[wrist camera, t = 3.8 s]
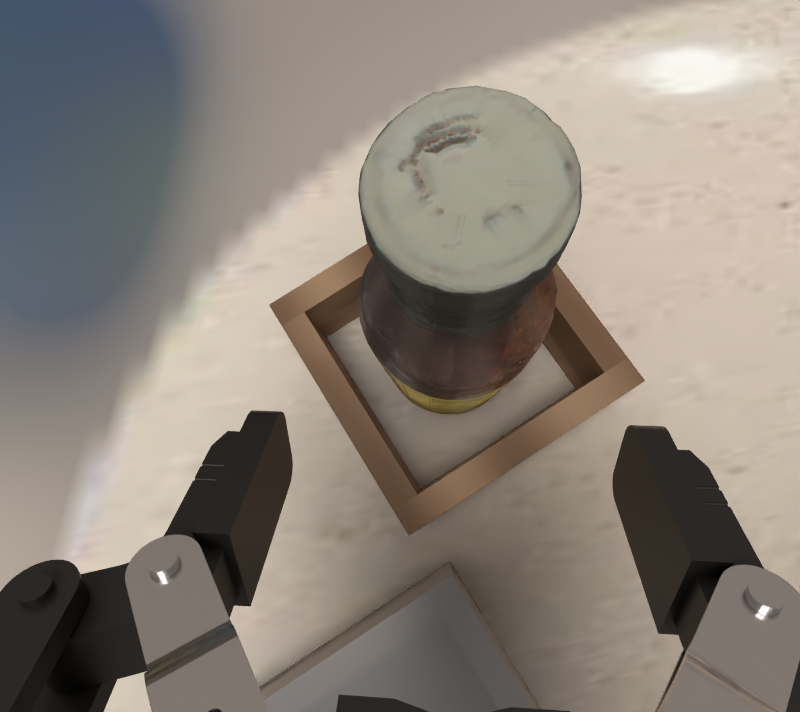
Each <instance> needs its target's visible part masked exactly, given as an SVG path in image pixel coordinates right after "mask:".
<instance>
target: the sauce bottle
mask: <svg viewBox="0 0 800 712" xmlns="http://www.w3.org/2000/svg"><path fill="white" fill-rule="evenodd" d="M581 197H582V196H581V170H580V164H579V161H578V158H577V156H576V153H575V150H574V148H573V146H572V144H571V142H570V141H569V139H568V137H567V136H566V134H565V133H564V131H563V130H562V128H561V127H560V126H558V125H557V124H555V123H554V122H553V121H552V120H551V119H550V118H549V117H548V116H547V114H546V113H545V112H544V111H542V110H541V109H539V108H538V107H537V106H535V105H534V104H533V103H531V102H530V101H528V100H527V99H526V98H523V97H521V96H518V95H515V94H512V93H510V92H507V91H502V90H496V89H491V88H486V87H480V86H470V87H461V88H451V89H446V90H444V91H442V92H434V93H432V94H430V95H428V96H426V97H424V98H422V99H421V100H419V101H418V102H416V103H415V104H413V105H411V106H409V107H407V108H406V109H405V110H404V111H402V112H401V113H400V114H399V115H398V116H397V117H395V118H394V119H393V120H392V121H391V122H389V123H388V124H387V126H386V127H385V128H384V129H383V131H382V132H381V133H380V134H379V135H378V137H377V138H376V140H375V141H374V143H373V144H372V146H371V148H370V151H369V153H368V155H367V158H366V160H365V162H364V164H363V167H362V169H361V173H360V181H359V202H360V209H361V215H362V221H363V225H364V230H365V235H366V240H367V244H368V246H369V248H370V250H371V252H372V254H373V255H372V256H371V258H370V260H369V262H368V263H367V265H366V267H365V270H364V273H363V276H362V279H361V282H360V286H359V294H358V309H359V317H360V322H361V325H362V329H363V332H364V335H365V337H366V340H367V342H368V344H369V346H370V348H371V349H372V351H373V353H374V354H375V356H376V357H377V359H378V360H379V362H380V363H381V365H382V366H383V368H384V369H385V371H386V372H387V373H388V375H389V376H390V377H391V378H392V380H393V381H394V383H395V384H396V385H397V387H398V388H399V389H400V391H401V392H402V393H403V394H404V395H405V396H406V397H407V398H408V399H409V400H410V401H411V402H413V403H414V404H416V405H418V406H419V407H422V408H424V409H426V410H429V411H433V412H437V413H443V414H458V413H465V412H467V411H470V410H472V409H475V408H477V407H479V406H480V405H482V404H484V403H485V402H486V401H488V400H489V399H490V398H491V397H493V396H494V395H495V394H496V393H497V392H498V391H500V390H501V389H502V388H503V387H504V386H505V385H507V384H508V383H509V382H510V381H512V380H513V379H514V378H515V377H516V376H517V375H518V374H519V373H520V372H521V371H522V370H523V369H524V368H525V366H526V365H527V364H528V362H529V361H530V359H531V358H532V357H533V355H534V354H535V353H536V351H537V350H538V348H539V347H540V345H541V343H542V342H543V340H544V338H545V336H546V334H547V332H548V330H549V328H550V325H551V322H552V320H553V315H554V309H555V305H556V296H557V291H558V290H557V286H556V280H555V276H554V273H553V270H552V269H553V268H554V267H555V265H556V264H557V262H558V260H559V259H560V257H561V254H562V253H563V251H564V250H565V248H566V246H567V244H568V241H569V239H570V237H571V235H572V233H573V231H574V229H575V226H576V223H577V220H578V217H579V214H580V207H581Z"/></svg>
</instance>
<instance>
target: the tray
mask: <svg viewBox="0 0 800 712" xmlns="http://www.w3.org/2000/svg"><path fill="white" fill-rule="evenodd" d="M259 689H260V691H261V694H262V696H263V699H264V701H265V704H266V706H267V708H268V711H269V712H336V708H337V702H338V696H339V695H353V696H367V697H380V698H394V699H397V700H399V701H402V702H405V703H408V704H410V705H413V706H416V707H418V708H421V709H424V710H426V711H429V712H492V711H496V710H501V709H505V708H510V707H517V708H531V709H540V708H539V706H538V705H537V703H536V701H535V700H534V698H533V697H532V695H531V693H530V692H529V690H528V688H527V687H526V685H525V684H524V682H523V680H522V679H521V677H520V675H519V674H518V672H517V671H516V669H515V667H514V666H513V664H512V662H511V661H510V659H509V658H508V656H507V654H506V653H505V651H504V649H503V648H502V646H501V645H500V643H499V641H498V640H497V638H496V636H495V635H494V633H493V632H492V630H491V628H490V627H489V625H488V623H487V622H486V620H485V619H484V617H483V615H482V614H481V612H480V610H479V609H478V607H477V606H476V604H475V602H474V601H473V599H472V597H471V596H470V594H469V593H468V591H467V589H466V588H465V586H464V584H463V583H462V581H461V580H460V578H459V576H458V575H457V573H456V571H455V570H454V568H453V567H452V565H451V563H450V562H448V563H447V564H445V565H444V566H442V567H441V568H439V569H438V570H436V571H435V572H433V573H432V574H430V575H429V576H427V577H426V578H424V579H423V580H421V581H420V582H418V583H417V584H415V585H414V586H412V587H411V588H409V589H408V590H406V591H404V592H403V593H401V594H400V595H398V596H397V597H395V598H394V599H392V600H391V601H389V602H388V603H386V604H385V605H383V606H382V607H380V608H379V609H377V610H376V611H374V612H373V613H371V614H370V615H368V616H367V617H365V618H364V619H362V620H361V621H359V622H358V623H356V624H355V625H353V626H352V627H350V628H349V629H347V630H346V631H344V632H343V633H341V634H340V635H338V636H337V637H335V638H333V639H332V640H330V641H329V642H327V643H326V644H324V645H323V646H321V647H320V648H318V649H317V650H315V651H314V652H312V653H311V654H309V655H308V656H306V657H305V658H303V659H302V660H300V661H299V662H297V663H296V664H294V665H293V666H291V667H290V668H288V669H287V670H285V671H284V672H282V673H281V674H279V675H278V676H276V677H275V678H273V679H272V680H270V681H269V682H267V683H265V684H264V685H262V686H261V687H259Z"/></svg>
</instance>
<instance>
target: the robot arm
mask: <svg viewBox="0 0 800 712" xmlns="http://www.w3.org/2000/svg"><path fill="white" fill-rule="evenodd" d="M202 464H203V465H202V467H200V469H199V471H198V472H197V474H196V476H195V481H193V482H192V484H191V486H190V488H189V490H188V491H187V493H186V495H185V497H184V499H183V501H182V503H181V505H180V507H179V509H178V511H177V512H176V514H175V516H174V518H173V520H172V522H171V524H170V526H169V528H168V530H167V532H166V533H165V535H164V536H163V537H161V538H158V539H156V540H154V541H152V542H150V543H148V544H147V545H145V546H144V547H143V548H141V549H140V550H139V551H138V552H137V553H136V554H135V555H134V557H133V558H132V559H131V561H130V562H129V563H127V564H123V565H120V566H116V567H111V568H107V569H102V570H98V571H94V572H89V573H85V574H80V573H79V571H78V569H77V567H76V566H75V565H74V564H72V563H71V562H69V561H65V560H50V561H45V562H42V563H39V564H36V565H34V566H31V567H29V568H28V569H26V570H24V571H22V572H21V573H20V574H18V575H17V576H15V577H14V578H13V579H12V580H11V581H10V582H9V583H8V584H7V585H6V586H5V587H4V588H3V589H2V591H1V592H0V712H103V711H104V709H105V707H106V704H107V702H108V700H109V697H110V695H111V693H112V690H113V688H114V686H115V683H116V681H117V679H119V678H123V677H127V676H130V675H134V674H138V673H141V672H145V671H147V672H146V673H145V675H144V677H145V684H146V689H147V694H148V698H149V702H150V706H151V710H152V712H269V711H268V708H267V706H266V704H265V701H264V699H263V696H262V694H261V691H260V689H259V686H258V684H257V681H256V679H255V677H254V674H253V672H252V669H251V667H250V664H249V662H248V659H247V657H246V654H245V652H244V650H243V647H242V645H241V642H240V640H239V637H238V635H237V633H236V630H235V628H234V626H233V625H232V623H231V621H230V619H229V618H230V615H231V612H232V609H233V607H234V605H237V606H251V603H252V600H253V597H254V594H255V591H256V588H257V584H258V581H259V578H260V575H261V572H262V569H263V566H264V563H265V560H266V557H267V554H268V550H269V547H270V544H271V541H272V538H273V535H274V532H275V529H276V526H277V523H278V520H279V516H280V513H281V510H282V507H283V504H284V501H285V498H286V495H287V492H288V489H289V486H290V482H291V477H292V466H293V464H292V454H291V448H290V442H289V436H288V431H287V425H286V419H285V415H284V413H283V412H277V411H251V412H250V413H249V414H248V416H247V418H246V420H245V422H244V424H243V426H242V428H241V430H240V432H237V431H227V432H226V433H225V434H224V435H223V436H222V437H221V438H220V439H219V440H217V441H216V442H215V443H214V444H213V445H212V446H211V448H210V450H209V451H208V453H207V455H206V457H205V459H204V461H203V463H202ZM613 494H614V499H615V502H616V505H617V509H618V512H619V515H620V518H621V521H622V524H623V527H624V530H625V533H626V536H627V539H628V542H629V545H630V548H631V551H632V554H633V557H634V560H635V563H636V566H637V570H638V573H639V576H640V579H641V582H642V585H643V588H644V591H645V594H646V597H647V600H648V603H649V606H650V609H651V612H652V615H653V618H654V621H655V624H656V627H657V630H658V634H674V635H679V637H680V640H681V643H682V646H683V651H682V653H681V655H680V657H679V659H678V661H677V663H676V666H675V668H674V670H673V672H672V675H671V677H670V679H669V681H668V683H667V686H666V688H665V690H664V692H663V695H662V697H661V699H660V701H659V703H658V706H657V708H656V710H655V712H800V594H799V593H798V592H797V591H796V590H795V589H794V587H792V586H791V585H790V584H789V583H788V582H787V581H785V580H784V579H782V578H781V577H779V576H778V575H776V574H774V573H772V572H770V571H768V570H766V569H764V568H763V566H762V564H761V562H760V561H759V559H758V557H757V555H756V553H755V552H754V550H753V548H752V546H751V544H750V542H749V541H748V539H747V537H746V535H745V533H744V531H743V530H742V528H741V526H740V524H739V522H738V521H737V519H736V517H735V515H734V513H733V511H732V510H731V508H730V507H728V505H727V504H728V502H727V500H726V499H725V497H724V495H723V493H722V491H719V486H718V484H717V482H716V480H715V479H714V477H713V475H712V473H711V471H710V469H709V468H708V467H707V466H706V465H705V464H704V463H703V462H702V461H701V460H700V459H699V458H697V457H696V456H695V455H694V454H693V453H692V452H691V451H690V450H678V449H677V448H676V446H675V444H674V442H673V440H672V438H671V436H670V434H669V432H668V430H667V429H666V428H665V427H663V426H636V425H630V426H628V427H627V429H626V431H625V434H624V438H623V441H622V445H621V448H620V452H619V455H618V459H617V462H616V466H615V469H614V473H613ZM336 712H429V711H426V710H424V709H421V708H418V707H416V706H413V705H410V704H408V703H405V702H402V701H399V700H397V699H394V698H380V697H367V696H353V695H339V696H338V702H337V708H336ZM492 712H569V711H558V710H545V709H531V708H517V707H510V708H505V709H501V710H496V711H492Z"/></svg>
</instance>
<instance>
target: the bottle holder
mask: <svg viewBox="0 0 800 712" xmlns="http://www.w3.org/2000/svg"><path fill="white" fill-rule="evenodd" d="M372 255H373V254H372V252H371V250H370V248H369V246H368V244H366V245H365V246H363V247H361V248H360V249H358V250H357V251H355V252H353V253H352V254H350V255H349V256H347V257H345V258H344V259H342V260H341V261H339V262H337V263H336V264H334V265H332V266H331V267H329V268H328V269H326V270H324V271H323V272H321V273H320V274H318V275H316V276H315V277H313V278H312V279H310V280H308V281H307V282H305V283H304V284H302V285H300V286H299V287H297V288H296V289H294V290H292V291H291V292H289V293H287V294H286V295H284V296H283V297H281V298H279V299H278V300H276V301H275V302H273V303H271V304H270V307H271V309H272V310H273V312H274V314H275V315H276V317H277V319H278V320H279V322H280V324H281V325H282V327H283V328H284V330H285V332H286V333H287V335H288V337H289V338H290V340H291V342H292V343H293V345H294V347H295V348H296V350H297V352H298V353H299V355H300V357H301V358H302V360H303V362H304V363H305V365H306V366H307V368H308V370H309V371H310V373H311V375H312V376H313V378H314V380H315V381H316V383H317V385H318V386H319V388H320V390H321V391H322V393H323V395H324V396H325V398H326V400H327V401H328V403H329V404H330V406H331V408H332V409H333V411H334V413H335V414H336V416H337V418H338V419H339V421H340V423H341V424H342V426H343V428H344V429H345V431H346V433H347V434H348V436H349V437H350V439H351V441H352V442H353V444H354V446H355V447H356V449H357V451H358V452H359V454H360V456H361V457H362V459H363V461H364V462H365V464H366V466H367V467H368V469H369V471H370V472H371V474H372V475H373V477H374V479H375V480H376V482H377V484H378V485H379V487H380V489H381V490H382V492H383V494H384V495H385V497H386V499H387V500H388V502H389V504H390V505H391V507H392V509H393V510H394V512H395V513H396V515H397V517H398V518H399V520H400V522H401V523H402V525H403V527H404V528H405V530H406V532H407V533H408V535H411V534H412V533H414V532H415V531H417V530H418V529H420V528H421V527H423V526H424V525H426V524H427V523H429V522H430V521H432V520H433V519H435V518H437V517H438V516H440V515H441V514H443V513H444V512H446V511H447V510H449V509H450V508H452V507H453V506H455V505H456V504H458V503H459V502H461V501H462V500H464V499H465V498H467V497H469V496H470V495H472V494H473V493H475V492H476V491H478V490H479V489H481V488H482V487H484V486H485V485H487V484H488V483H490V482H491V481H493V480H494V479H496V478H497V477H499V476H501V475H502V474H504V473H505V472H507V471H508V470H510V469H511V468H513V467H514V466H516V465H517V464H519V463H520V462H522V461H523V460H525V459H526V458H528V457H529V456H531V455H533V454H534V453H536V452H537V451H539V450H540V449H542V448H543V447H545V446H546V445H548V444H549V443H551V442H552V441H554V440H555V439H557V438H558V437H560V436H561V435H563V434H565V433H566V432H568V431H569V430H571V429H572V428H574V427H575V426H577V425H578V424H580V423H581V422H583V421H584V420H586V419H587V418H589V417H590V416H592V415H593V414H595V413H597V412H598V411H600V410H601V409H603V408H604V407H606V406H607V405H609V404H610V403H612V402H613V401H615V400H616V399H618V398H619V397H621V396H622V395H624V394H625V393H627V392H629V391H630V390H632V389H633V388H635V387H636V386H638V385H639V384H641V383H642V382H644V381H645V380H644V379H643V377H642V376H641V375H640V373H639V372H638V371H637V369H636V368H635V367H634V366H633V364H632V363H631V362H630V360H629V359H628V358H627V356H626V355H625V354H624V352H623V351H622V350H621V348H620V347H619V346H618V344H617V343H616V342H615V340H614V339H613V338H612V336H611V335H610V334H609V332H608V331H607V330H606V328H605V327H604V326H603V324H602V323H601V322H600V320H599V319H598V318H597V316H596V315H595V314H594V312H593V311H592V310H591V308H590V307H589V306H588V304H587V303H586V302H585V300H584V299H583V298H582V296H581V295H580V294H579V292H578V291H577V290H576V288H575V287H574V286H573V284H572V283H571V282H570V280H569V279H568V278H567V277H566V275H565V274H564V273H563V271H562V270H561V269H560V267H559V266H558V265H557V264H556V265H555V267H554V268H553V269H552V270H553V273H554V276H555V280H556V286H557V290H558V291H557V296H556V305H555V309H554V315H553V320H552V322H551V325H550V328H549V330H548V332H547V334H546V336H545V338H544V340H543V344H544V345H545V346H546V348H547V349H548V351H549V352H550V353H551V355H552V356H553V357H554V359H555V360H556V362H557V363H558V364H559V366H560V367H561V369H562V370H563V371H564V373H565V374H566V376H567V377H568V378H569V380H570V381H571V382H572V384H573V385H574V387H575V388H576V389H574V390H573V391H571V392H570V393H568V394H567V395H565V396H564V397H562V398H560V399H559V400H557V401H556V402H554V403H553V404H551V405H550V406H548V407H547V408H545V409H544V410H542V411H541V412H539V413H537V414H536V415H534V416H533V417H531V418H530V419H528V420H527V421H525V422H524V423H522V424H521V425H519V426H518V427H516V428H514V429H513V430H511V431H510V432H508V433H507V434H505V435H504V436H502V437H501V438H499V439H498V440H496V441H495V442H493V443H491V444H490V445H488V446H487V447H485V448H484V449H482V450H481V451H479V452H478V453H476V454H475V455H473V456H472V457H470V458H468V459H467V460H465V461H464V462H462V463H461V464H459V465H458V466H456V467H455V468H453V469H452V470H450V471H449V472H447V473H445V474H444V475H442V476H441V477H439V478H438V479H436V480H435V481H433V482H432V483H430V484H429V485H427V486H426V487H424V488H422V489H420V487H419V485H418V484H417V482H416V480H415V479H414V477H413V476H412V474H411V472H410V471H409V469H408V468H407V466H406V464H405V463H404V461H403V460H402V458H401V456H400V455H399V453H398V452H397V450H396V448H395V447H394V445H393V444H392V442H391V440H390V439H389V437H388V435H387V434H386V432H385V431H384V429H383V427H382V426H381V424H380V423H379V421H378V419H377V418H376V416H375V415H374V413H373V411H372V410H371V408H370V407H369V405H368V403H367V402H366V400H365V399H364V397H363V395H362V394H361V392H360V391H359V389H358V387H357V386H356V384H355V382H354V381H353V379H352V378H351V376H350V374H349V373H348V371H347V370H346V368H345V366H344V365H343V363H342V362H341V360H340V358H339V357H338V355H337V354H336V352H335V350H334V349H333V347H332V346H331V344H330V342H329V341H328V339H327V338H326V337H327V336H329V335H330V334H332V333H333V332H335V331H337V330H338V329H340V328H341V327H343V326H345V325H346V324H348V323H349V322H351V321H352V320H354V319H356V318H357V317H359V309H358V294H359V286H360V282H361V279H362V276H363V273H364V270H365V267H366V265H367V263H368V262H369V260H370V258H371V256H372Z"/></svg>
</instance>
